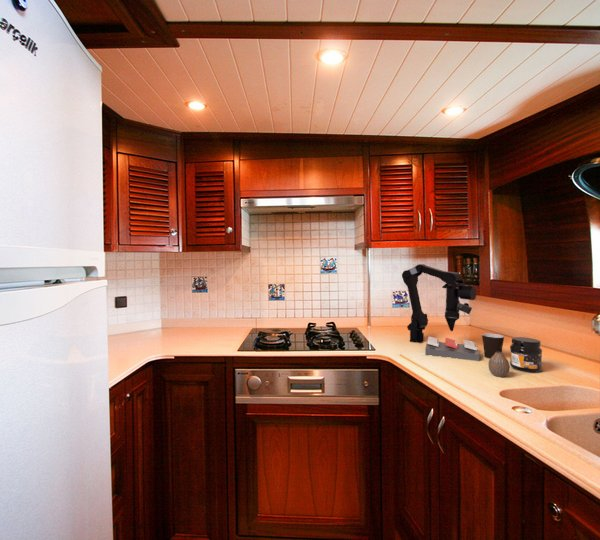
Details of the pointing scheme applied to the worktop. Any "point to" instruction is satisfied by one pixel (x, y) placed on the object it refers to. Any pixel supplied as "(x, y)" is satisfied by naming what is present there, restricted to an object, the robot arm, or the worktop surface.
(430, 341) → the plate
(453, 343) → the rocker red
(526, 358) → the supplement container
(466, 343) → the rocker right
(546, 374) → the worktop surface
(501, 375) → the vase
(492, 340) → the coffee mug
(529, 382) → the worktop surface
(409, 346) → the worktop surface
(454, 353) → the rocker switch panel
